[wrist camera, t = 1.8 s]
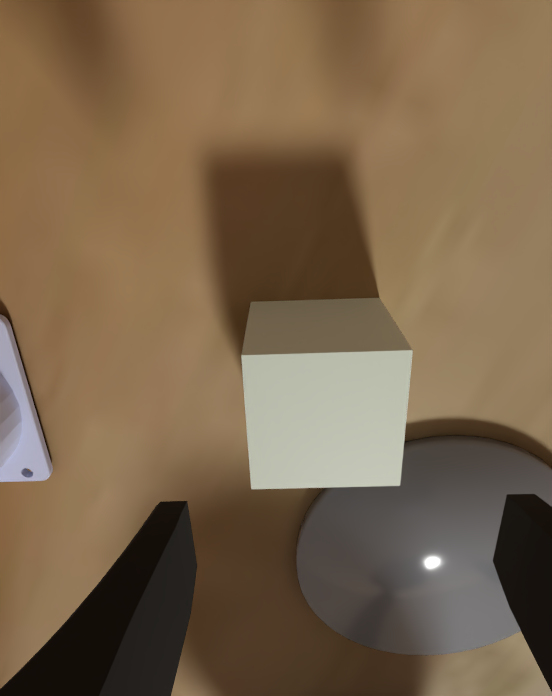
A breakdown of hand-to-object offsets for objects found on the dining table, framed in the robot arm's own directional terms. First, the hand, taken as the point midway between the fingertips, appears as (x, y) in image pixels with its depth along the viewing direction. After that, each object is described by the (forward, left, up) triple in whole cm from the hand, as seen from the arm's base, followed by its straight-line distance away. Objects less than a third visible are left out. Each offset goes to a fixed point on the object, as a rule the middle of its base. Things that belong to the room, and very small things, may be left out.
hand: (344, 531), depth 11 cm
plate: (+6, -11, -9) cm, 16 cm away
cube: (0, 0, -9) cm, 9 cm away
